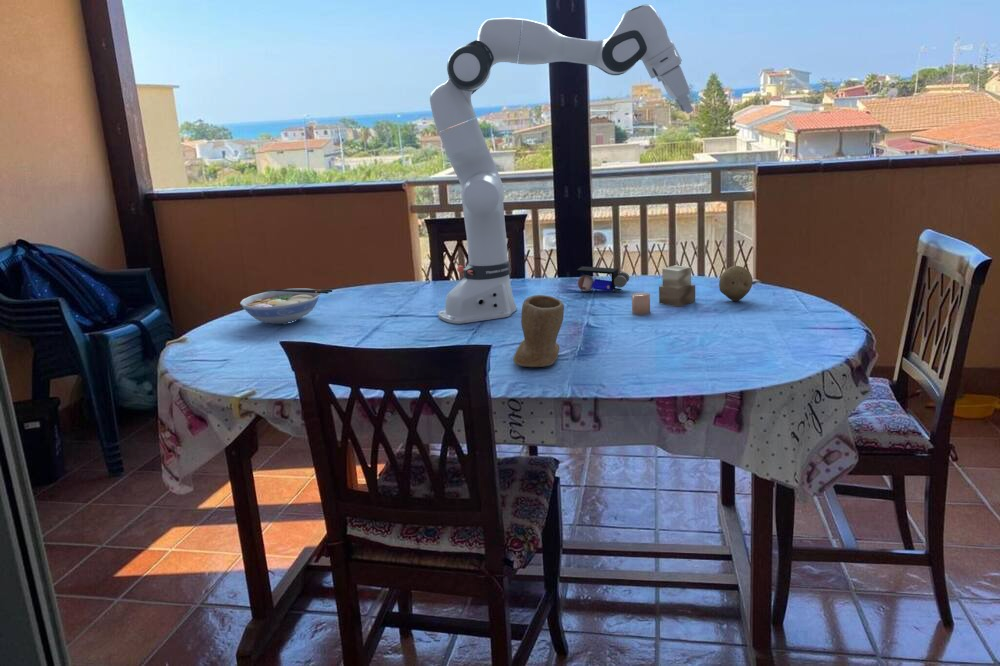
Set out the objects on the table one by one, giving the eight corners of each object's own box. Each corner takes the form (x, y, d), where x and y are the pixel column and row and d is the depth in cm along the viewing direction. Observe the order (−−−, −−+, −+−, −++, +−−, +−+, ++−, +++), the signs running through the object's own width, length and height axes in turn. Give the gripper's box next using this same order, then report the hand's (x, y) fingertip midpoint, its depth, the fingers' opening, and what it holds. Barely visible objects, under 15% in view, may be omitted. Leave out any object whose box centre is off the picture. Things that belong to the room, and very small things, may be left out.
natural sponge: (751, 305, 216) (752, 269, 213) (717, 305, 219) (717, 269, 216) (752, 297, 224) (753, 262, 222) (719, 297, 227) (719, 262, 224)
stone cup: (562, 371, 175) (559, 304, 171) (509, 371, 178) (504, 305, 174) (571, 350, 190) (568, 288, 185) (521, 350, 192) (517, 289, 188)
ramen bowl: (223, 330, 231) (219, 302, 228) (276, 309, 250) (273, 284, 248) (292, 335, 220) (288, 306, 218) (342, 313, 240) (339, 286, 237)
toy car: (628, 293, 245) (580, 287, 250) (630, 269, 243) (582, 263, 248) (624, 299, 239) (574, 292, 244) (626, 273, 237) (576, 267, 242)
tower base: (678, 307, 220) (678, 289, 219) (659, 303, 226) (658, 286, 224) (695, 302, 224) (695, 284, 223) (675, 298, 230) (675, 281, 228)
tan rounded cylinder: (639, 316, 214) (639, 297, 213) (628, 312, 218) (628, 294, 217) (653, 312, 216) (653, 294, 215) (642, 309, 220) (642, 291, 219)
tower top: (678, 288, 220) (677, 270, 219) (662, 286, 224) (662, 268, 223) (691, 285, 223) (691, 267, 222) (675, 282, 227) (675, 265, 226)
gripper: (649, 70, 221) (672, 115, 224) (656, 70, 201) (681, 119, 204) (670, 58, 219) (693, 103, 222) (679, 57, 200) (704, 106, 203)
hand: (687, 111), depth 213 cm, fingers open, 8 cm apart
